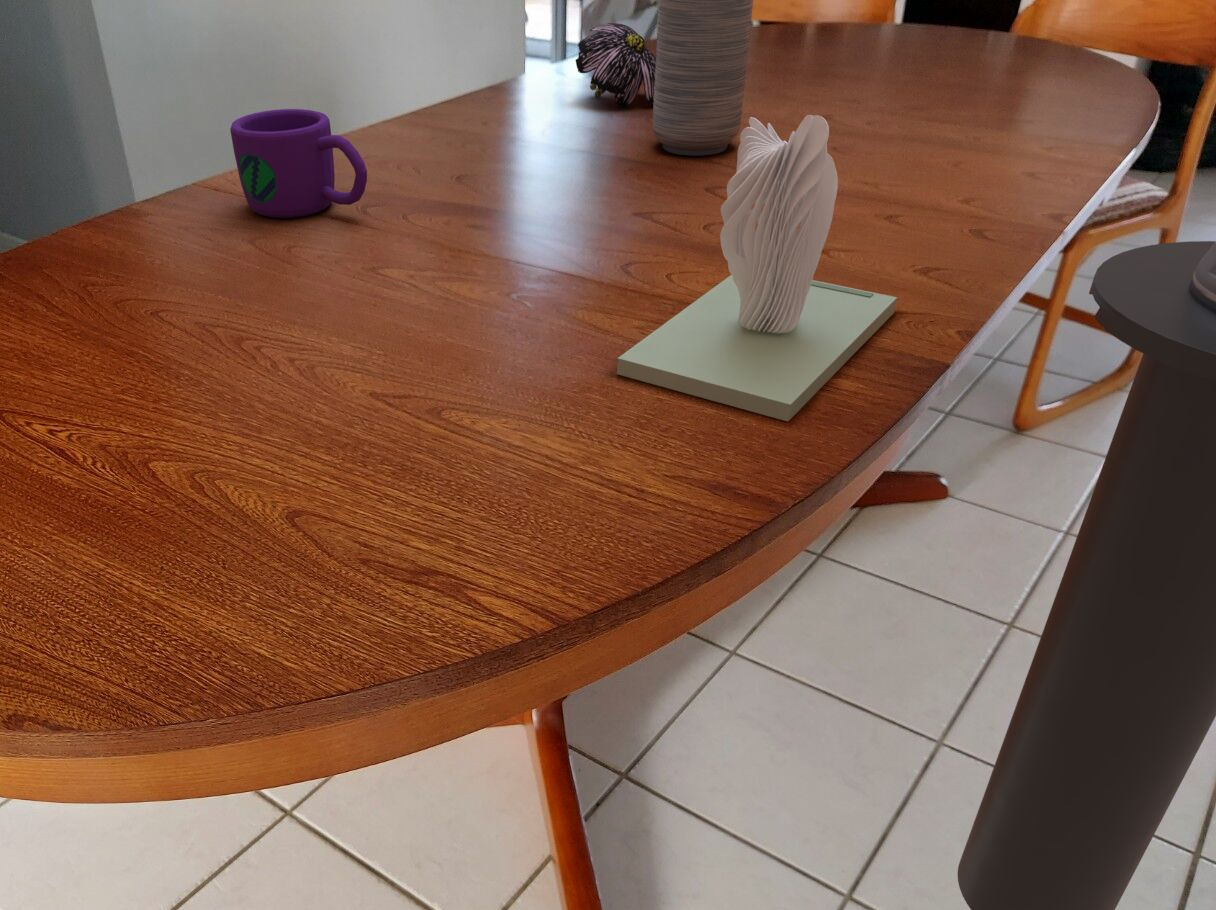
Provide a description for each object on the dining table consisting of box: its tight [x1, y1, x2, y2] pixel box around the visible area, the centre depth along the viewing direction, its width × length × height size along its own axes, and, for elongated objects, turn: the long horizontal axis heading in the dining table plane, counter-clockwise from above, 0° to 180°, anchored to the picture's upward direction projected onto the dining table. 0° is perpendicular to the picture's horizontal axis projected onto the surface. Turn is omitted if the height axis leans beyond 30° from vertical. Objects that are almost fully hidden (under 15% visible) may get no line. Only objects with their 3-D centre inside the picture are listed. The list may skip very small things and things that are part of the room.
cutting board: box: [616, 274, 898, 423], centre depth 90 cm, size 24×15×2 cm, turn 144°
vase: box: [651, 0, 754, 157], centre depth 133 cm, size 12×12×23 cm
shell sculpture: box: [719, 114, 839, 333], centre depth 84 cm, size 8×8×18 cm
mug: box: [229, 108, 368, 219], centre depth 120 cm, size 17×11×10 cm, turn 60°
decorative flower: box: [575, 22, 656, 110], centre depth 160 cm, size 14×12×15 cm
